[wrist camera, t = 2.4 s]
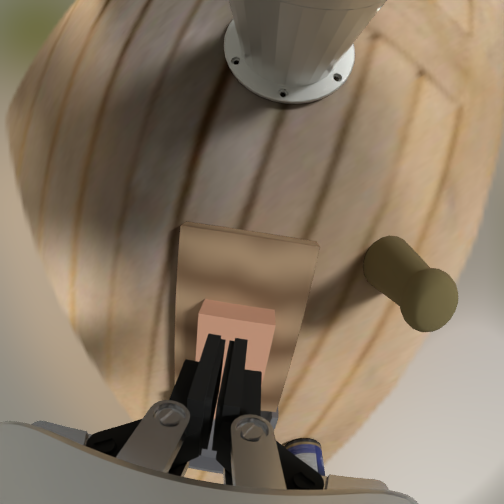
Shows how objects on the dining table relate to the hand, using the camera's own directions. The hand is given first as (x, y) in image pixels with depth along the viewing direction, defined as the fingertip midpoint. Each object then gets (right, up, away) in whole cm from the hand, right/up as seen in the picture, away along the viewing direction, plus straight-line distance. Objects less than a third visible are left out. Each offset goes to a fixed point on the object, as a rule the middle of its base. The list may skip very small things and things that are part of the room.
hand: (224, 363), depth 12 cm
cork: (+16, +4, +17) cm, 23 cm away
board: (-1, -4, +20) cm, 20 cm away
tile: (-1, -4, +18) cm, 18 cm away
